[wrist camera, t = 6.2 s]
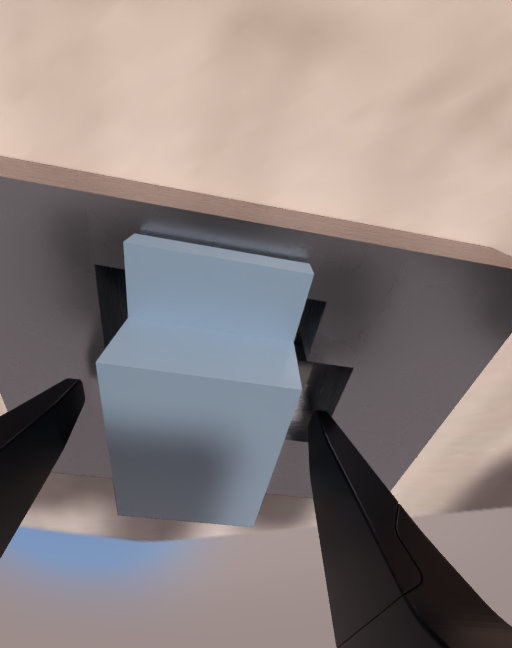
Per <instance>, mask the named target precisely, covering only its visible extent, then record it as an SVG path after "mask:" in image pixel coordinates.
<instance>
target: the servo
mask: <svg viewBox="0 0 512 648" xmlns="http://www.w3.org/2000/svg"><path fill="white" fill-rule="evenodd" d="M123 246H124V261H125V277H126V293H127V308H128V319H127V320H126V321H125V323H124V324H123V325H122V327H121V328H120V329H119V331H118V332H117V334H116V335H115V336H114V338H113V339H112V340H111V342H110V343H109V345H108V346H107V347H106V349H105V350H104V351H103V353H102V354H101V355H100V357H99V358H98V360H97V361H96V369H97V376H98V383H99V389H100V396H101V403H102V410H103V417H104V424H105V430H106V437H107V444H108V451H109V458H110V464H111V471H112V478H113V485H114V492H115V498H116V505H117V512H118V515H121V516H133V517H144V518H155V519H166V520H177V521H189V522H200V523H211V524H222V525H233V526H244V527H253V526H254V524H255V521H256V518H257V515H258V512H259V510H260V507H261V504H262V501H263V498H264V496H265V493H266V490H267V487H268V484H269V482H270V479H271V476H272V473H273V470H274V468H275V465H276V462H277V459H278V456H279V454H280V451H281V448H282V445H283V442H284V440H285V437H286V434H287V431H288V428H289V426H290V423H291V420H292V417H293V414H294V412H295V409H296V406H297V403H298V400H299V398H300V396H302V395H303V392H304V389H305V386H306V384H307V381H308V378H309V375H310V373H311V370H312V367H313V364H314V362H308V361H307V360H306V356H305V351H304V347H303V346H298V345H294V340H295V336H296V333H297V330H298V326H299V323H300V320H301V316H302V313H303V310H304V306H305V303H306V300H307V296H308V293H309V290H310V286H311V283H312V280H313V276H314V273H313V271H312V268H311V266H310V264H308V263H302V262H297V261H291V260H285V259H279V258H273V257H268V256H262V255H256V254H250V253H245V252H239V251H233V250H227V249H222V248H216V247H210V246H204V245H198V244H193V243H187V242H181V241H175V240H170V239H164V238H158V237H152V236H146V235H141V234H135V233H134V234H133V235H132V236H130V237H129V238H128V239H126V240H125V241H124V242H123Z"/></svg>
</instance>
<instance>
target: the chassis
mask: <svg viewBox="0 0 512 648" xmlns="http://www.w3.org/2000/svg"><path fill="white" fill-rule="evenodd" d="M134 233H135V234H141V235H146V236H152V237H158V238H164V239H170V240H175V241H181V242H187V243H193V244H198V245H204V246H210V247H216V248H222V249H227V250H233V251H239V252H245V253H250V254H256V255H262V256H268V257H273V258H279V259H285V260H291V261H297V262H302V263H308V264H310V266H311V268H312V271H313V273H314V276H313V280H312V283H311V286H310V290H309V293H308V296H307V300H306V303H305V306H304V310H303V313H302V316H301V320H300V323H299V326H298V330H297V333H296V336H295V340H294V345H298V346H303V347H304V351H305V356H306V360H307V361H308V362H314V364H313V367H312V370H311V373H310V375H309V378H308V381H307V384H306V386H305V389H304V392H303V395H302V396H300V398H299V400H298V403H297V406H296V409H295V412H294V414H293V417H292V420H291V423H290V426H289V428H288V431H287V434H286V437H285V440H284V442H283V445H282V448H281V451H280V454H279V456H278V459H277V462H276V465H275V468H274V470H273V473H272V476H271V479H270V482H269V484H268V487H267V490H266V493H265V494H275V495H285V496H295V497H305V498H313V494H312V488H311V481H310V471H309V451H308V425H309V422H310V420H311V417H312V415H313V412H314V411H315V410H325V411H327V412H328V413H329V414H330V415H331V417H332V418H333V419H334V420H335V422H336V423H337V424H338V426H339V427H340V428H341V429H342V431H343V432H344V433H345V434H346V436H347V437H348V438H349V440H350V441H351V442H352V443H353V445H354V446H355V447H356V449H357V450H358V451H359V452H360V454H361V455H362V456H363V458H364V459H365V460H366V461H367V463H368V464H369V465H370V466H371V468H372V469H373V470H374V472H375V473H376V474H377V475H378V477H379V478H380V479H381V481H382V482H383V483H384V484H385V486H386V487H387V488H388V490H389V491H391V489H392V488H393V487H394V486H395V484H396V483H397V482H398V480H399V479H400V478H401V476H402V475H403V474H404V473H405V471H406V470H407V469H408V467H409V466H410V465H411V463H412V462H413V461H414V459H415V458H416V457H417V456H418V454H419V453H420V452H421V450H422V449H423V448H424V446H425V445H426V444H427V443H428V441H429V440H430V439H431V437H432V436H433V435H434V433H435V432H436V431H437V429H438V428H439V427H440V426H441V424H442V423H443V422H444V420H445V419H446V418H447V416H448V415H449V414H450V413H451V411H452V410H453V409H454V407H455V406H456V405H457V403H458V402H459V401H460V399H461V398H462V397H463V396H464V394H465V393H466V392H467V390H468V389H469V388H470V386H471V385H472V384H473V383H474V381H475V380H476V379H477V377H478V376H479V375H480V373H481V372H482V371H483V369H484V368H485V367H486V366H487V364H488V363H489V362H490V360H491V359H492V358H493V356H494V355H495V354H496V353H497V351H498V350H499V349H500V347H501V346H502V345H503V343H504V342H505V341H506V339H507V338H508V337H509V336H510V334H511V333H512V257H511V256H509V255H506V254H504V253H502V252H500V251H498V250H496V249H493V248H490V247H485V246H480V245H474V244H469V243H464V242H458V241H453V240H447V239H442V238H437V237H431V236H426V235H421V234H415V233H410V232H405V231H399V230H394V229H388V228H383V227H378V226H372V225H367V224H362V223H356V222H351V221H346V220H340V219H335V218H329V217H324V216H319V215H313V214H308V213H303V212H297V211H292V210H287V209H281V208H276V207H271V206H265V205H260V204H254V203H249V202H244V201H238V200H233V199H228V198H222V197H217V196H212V195H206V194H201V193H195V192H190V191H185V190H179V189H174V188H169V187H163V186H158V185H153V184H147V183H142V182H137V181H131V180H126V179H120V178H115V177H110V176H104V175H99V174H94V173H88V172H83V171H78V170H72V169H67V168H61V167H56V166H51V165H45V164H40V163H35V162H29V161H24V160H19V159H13V158H8V157H3V156H0V393H1V396H2V398H3V401H4V403H5V406H6V408H7V411H8V412H9V411H10V410H12V409H14V408H16V407H17V406H19V405H21V404H22V403H24V402H26V401H28V400H29V399H31V398H33V397H35V396H36V395H38V394H40V393H42V392H43V391H45V390H47V389H49V388H50V387H52V386H54V385H56V384H57V383H59V382H61V381H63V380H64V379H67V378H73V379H80V380H81V381H82V383H83V387H84V393H85V403H84V406H83V408H82V410H81V413H80V415H79V417H78V419H77V421H76V424H75V426H74V428H73V430H72V433H71V435H70V437H69V439H68V442H67V444H66V446H65V448H64V450H63V452H62V453H61V455H60V457H59V459H58V460H57V462H56V464H55V466H54V467H53V469H52V471H51V472H53V473H63V474H73V475H83V476H93V477H103V478H112V471H111V464H110V458H109V451H108V444H107V437H106V430H105V424H104V417H103V410H102V403H101V396H100V389H99V383H98V376H97V369H96V361H97V360H98V358H99V357H100V355H101V354H102V353H103V351H104V350H105V349H106V347H107V346H108V345H109V343H110V342H111V340H112V339H113V338H114V336H115V335H116V334H117V332H118V331H119V329H120V328H121V327H122V325H123V324H124V323H125V321H126V320H127V319H128V308H127V293H126V277H125V261H124V246H123V242H124V241H125V240H126V239H128V238H129V237H130V236H132V235H133V234H134Z"/></svg>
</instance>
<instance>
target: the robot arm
mask: <svg viewBox="0 0 512 648" xmlns="http://www.w3.org/2000/svg"><path fill="white" fill-rule="evenodd" d="M84 403H85V393H84V387H83V383H82V381H81V380H80V379H73V378H67V379H64V380H63V381H61V382H59V383H57V384H56V385H54V386H52V387H50V388H49V389H47V390H45V391H43V392H42V393H40V394H38V395H36V396H35V397H33V398H31V399H29V400H28V401H26V402H24V403H22V404H21V405H19V406H17V407H16V408H14V409H12V410H10V411H9V412H7V413H5V414H3V415H2V416H0V558H1V556H2V555H3V553H4V551H5V549H6V548H7V546H8V544H9V543H10V541H11V539H12V537H13V536H14V534H15V532H16V531H17V529H18V527H19V526H20V524H21V522H22V520H23V519H24V517H25V515H26V514H27V512H28V510H29V508H30V507H31V505H32V503H33V502H34V500H35V498H36V496H37V495H38V493H39V491H40V490H41V488H42V486H43V484H44V483H45V481H46V479H47V478H48V476H49V474H50V472H51V471H52V469H53V467H54V466H55V464H56V462H57V460H58V459H59V457H60V455H61V453H62V452H63V450H64V448H65V446H66V444H67V442H68V439H69V437H70V435H71V433H72V430H73V428H74V426H75V424H76V421H77V419H78V417H79V415H80V413H81V410H82V408H83V406H84ZM308 451H309V471H310V481H311V488H312V494H313V500H314V507H315V513H316V520H317V526H318V532H319V538H320V545H321V551H322V558H323V564H324V571H325V577H326V584H327V590H328V596H329V603H330V609H331V615H332V622H333V628H334V634H335V641H336V647H337V648H512V626H510V625H509V624H507V623H506V622H505V621H504V620H503V619H502V618H501V617H499V616H498V615H497V614H496V613H495V612H494V611H493V610H492V609H491V608H490V607H489V606H488V605H487V604H486V603H485V602H484V601H483V600H482V599H481V597H480V596H479V595H478V594H477V593H476V592H475V591H474V590H473V589H472V587H471V586H470V585H469V584H468V583H467V582H466V581H465V580H464V579H463V577H462V576H461V575H460V574H459V573H458V572H457V571H456V570H455V569H454V567H453V566H452V565H451V564H450V563H449V562H448V561H447V560H446V559H445V557H444V556H443V555H442V554H441V553H440V552H439V551H438V550H437V548H436V547H435V546H434V545H433V544H432V543H431V542H430V540H429V539H428V538H427V537H426V536H425V535H424V533H423V532H422V531H421V530H420V529H419V528H418V526H417V525H416V524H415V522H414V521H413V520H412V519H411V517H410V516H409V515H408V514H407V512H406V511H405V510H404V509H403V507H402V506H401V505H400V504H398V501H397V500H396V498H395V497H394V496H393V495H392V493H391V492H390V491H389V490H388V488H387V487H386V486H385V484H384V483H383V482H382V481H381V479H380V478H379V477H378V475H377V474H376V473H375V472H374V470H373V469H372V468H371V466H370V465H369V464H368V463H367V461H366V460H365V459H364V458H363V456H362V455H361V454H360V452H359V451H358V450H357V449H356V447H355V446H354V445H353V443H352V442H351V441H350V440H349V438H348V437H347V436H346V434H345V433H344V432H343V431H342V429H341V428H340V427H339V426H338V424H337V423H336V422H335V420H334V419H333V418H332V417H331V415H330V414H329V413H328V412H327V411H325V410H315V411H314V412H313V415H312V417H311V420H310V422H309V425H308Z"/></svg>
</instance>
